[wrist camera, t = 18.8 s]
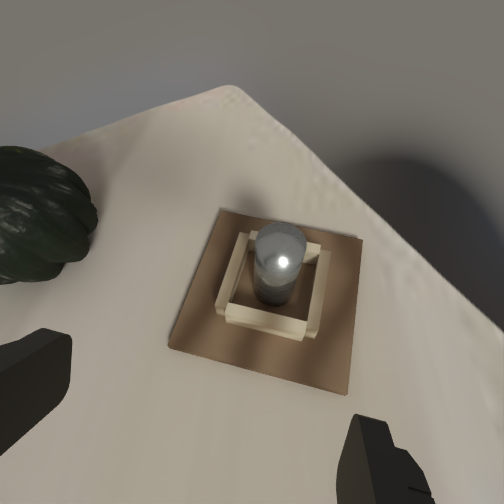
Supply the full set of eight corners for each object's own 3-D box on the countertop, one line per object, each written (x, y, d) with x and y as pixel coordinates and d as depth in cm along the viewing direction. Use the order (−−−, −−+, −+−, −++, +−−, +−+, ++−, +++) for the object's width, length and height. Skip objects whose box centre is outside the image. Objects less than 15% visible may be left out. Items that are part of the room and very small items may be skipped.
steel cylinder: (248, 300, 36) (249, 257, 28) (259, 265, 38) (263, 217, 31) (288, 311, 35) (301, 270, 28) (297, 275, 38) (311, 228, 30)
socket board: (169, 348, 34) (161, 337, 31) (221, 215, 44) (219, 197, 41) (344, 395, 32) (354, 388, 29) (360, 244, 41) (369, 227, 38)
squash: (116, 158, 41) (-38, 84, 30) (120, 261, 34) (-79, 212, 23) (63, 218, 48) (-77, 175, 37) (57, 314, 41) (-119, 296, 30)
